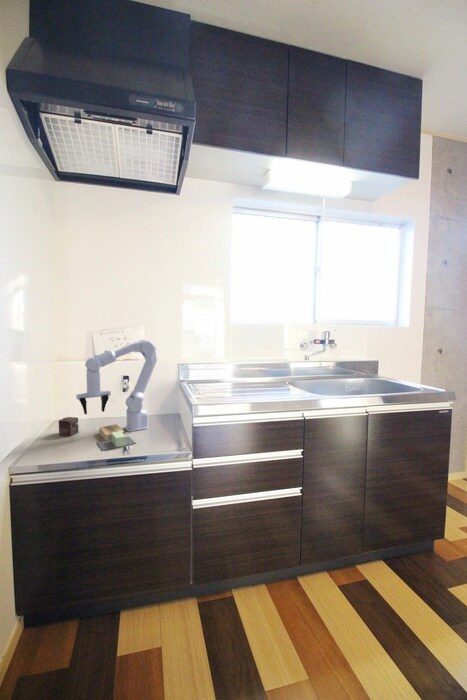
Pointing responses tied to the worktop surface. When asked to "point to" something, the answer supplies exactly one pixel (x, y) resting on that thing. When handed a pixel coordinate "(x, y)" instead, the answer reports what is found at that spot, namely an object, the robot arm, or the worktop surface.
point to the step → (109, 431)
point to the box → (68, 426)
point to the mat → (109, 444)
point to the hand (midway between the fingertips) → (94, 412)
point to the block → (118, 439)
